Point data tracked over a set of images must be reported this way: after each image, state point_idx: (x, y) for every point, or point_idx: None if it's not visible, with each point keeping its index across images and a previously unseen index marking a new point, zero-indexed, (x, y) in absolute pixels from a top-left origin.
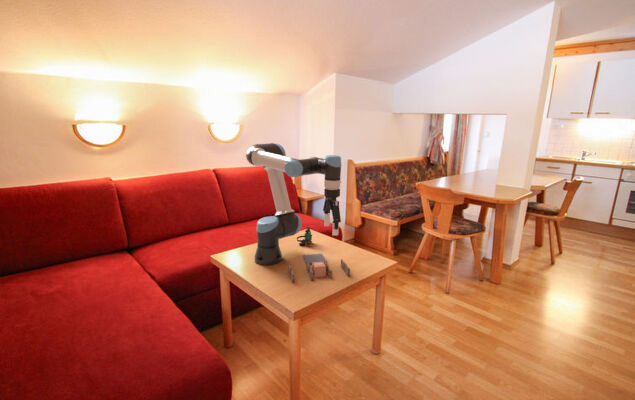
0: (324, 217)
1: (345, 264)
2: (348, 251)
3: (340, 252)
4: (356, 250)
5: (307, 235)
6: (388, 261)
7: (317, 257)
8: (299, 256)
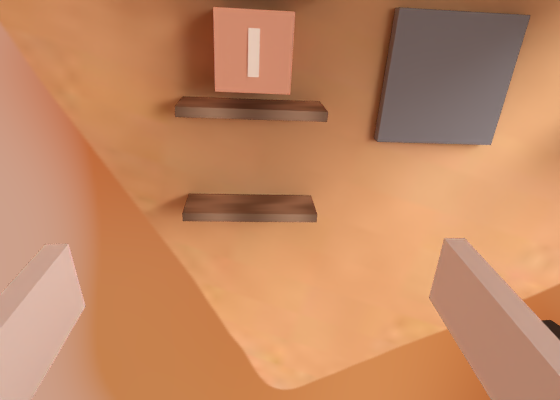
0: (548, 339)
1: (246, 217)
2: None
3: None
4: None
5: None
6: (295, 385)
7: (451, 102)
8: None
